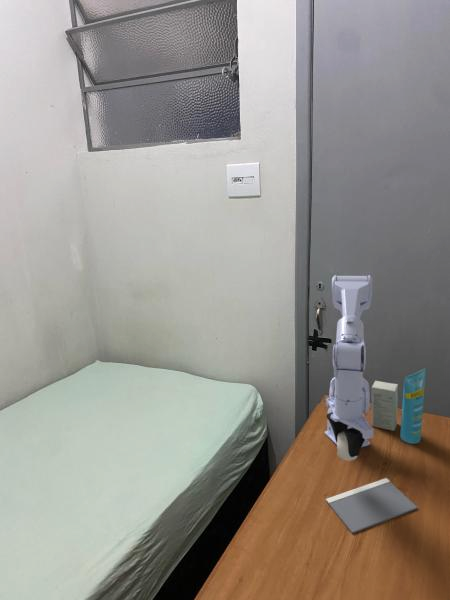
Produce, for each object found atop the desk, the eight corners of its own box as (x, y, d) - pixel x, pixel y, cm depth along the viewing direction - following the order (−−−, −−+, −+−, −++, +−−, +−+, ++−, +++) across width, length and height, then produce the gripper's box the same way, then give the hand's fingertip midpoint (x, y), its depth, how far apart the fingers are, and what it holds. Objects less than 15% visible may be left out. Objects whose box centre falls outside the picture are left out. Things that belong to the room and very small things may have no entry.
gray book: (325, 500, 89) (325, 498, 88) (385, 479, 93) (385, 477, 93) (352, 533, 80) (352, 531, 80) (417, 508, 85) (417, 506, 85)
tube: (410, 448, 103) (415, 380, 98) (393, 439, 107) (397, 373, 102) (427, 437, 107) (432, 370, 102) (410, 429, 111) (414, 364, 106)
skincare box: (397, 423, 114) (399, 384, 110) (394, 431, 110) (396, 391, 107) (373, 418, 117) (375, 379, 114) (369, 425, 114) (371, 386, 110)
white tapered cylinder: (333, 451, 94) (333, 434, 92) (349, 446, 95) (350, 429, 94) (344, 462, 90) (345, 445, 88) (361, 457, 91) (362, 440, 90)
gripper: (314, 384, 94) (314, 435, 97) (353, 416, 80) (352, 474, 84) (340, 378, 96) (340, 428, 99) (382, 407, 82) (380, 464, 86)
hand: (347, 448), depth 92 cm, fingers closed on white tapered cylinder, 4 cm apart
